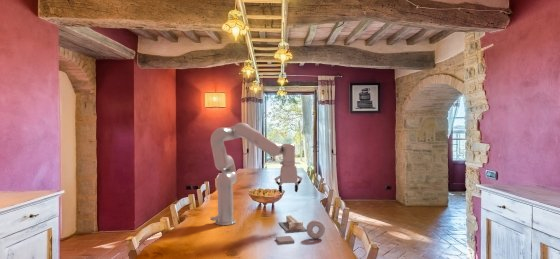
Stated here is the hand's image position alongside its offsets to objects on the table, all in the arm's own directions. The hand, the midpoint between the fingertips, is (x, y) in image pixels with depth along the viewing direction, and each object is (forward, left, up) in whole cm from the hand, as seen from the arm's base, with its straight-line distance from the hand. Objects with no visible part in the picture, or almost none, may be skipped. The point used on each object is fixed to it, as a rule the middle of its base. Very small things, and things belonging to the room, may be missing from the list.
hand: (288, 192), depth 204 cm
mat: (+2, -3, -21) cm, 21 cm away
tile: (-10, -23, -20) cm, 32 cm away
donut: (+8, -27, -21) cm, 35 cm away
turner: (+2, -2, -20) cm, 20 cm away
